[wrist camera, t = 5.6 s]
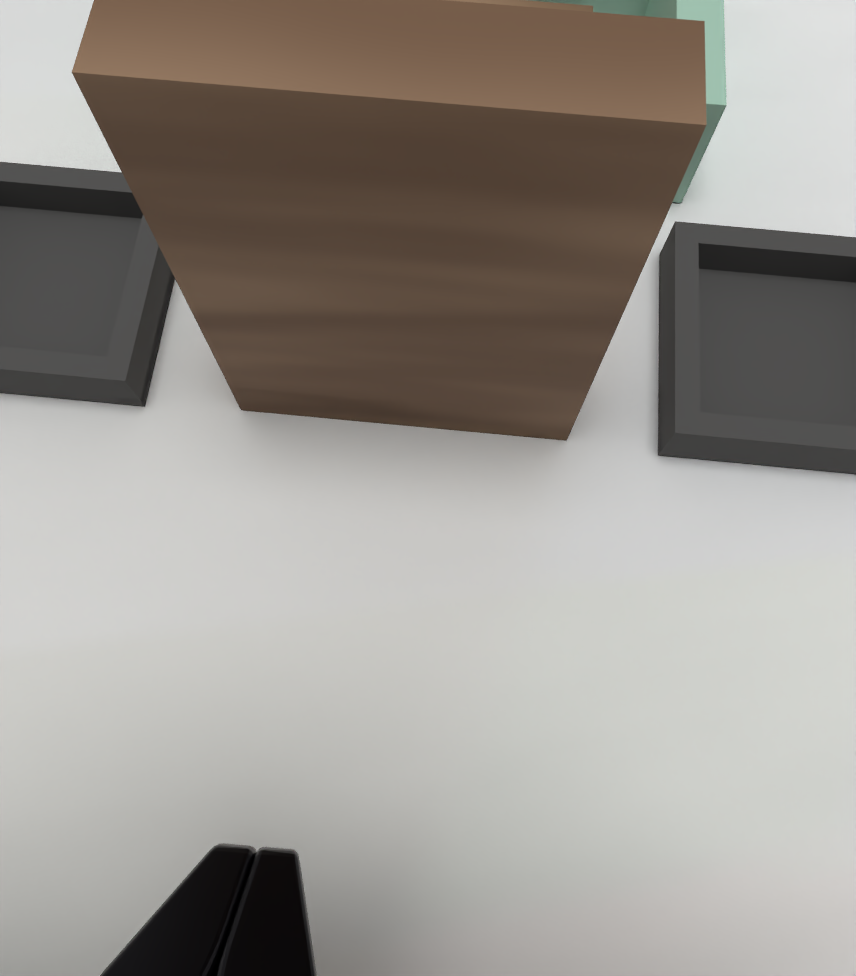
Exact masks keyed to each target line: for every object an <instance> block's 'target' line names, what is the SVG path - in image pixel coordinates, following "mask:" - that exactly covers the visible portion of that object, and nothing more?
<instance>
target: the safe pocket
mask: <svg viewBox="0 0 856 976" xmlns="http://www.w3.org/2000/svg"><path fill="white" fill-rule="evenodd" d="M528 1H540V2H553V3H565V4H578V5H590V6H593V12H598V13H611V14H623V15H636V16H648V17H661V18H673V19H686V20H698V21H705V69H706V122H707V125H706V127H705V130H704V132H703V134H702V136H701V139H700V141H699V143H698V145H697V148H696V150H695V152H694V154H693V157H692V159H691V161H690V163H689V166H688V168H687V170H686V172H685V175H684V177H683V179H682V181H681V184H680V186H679V188H678V190H677V193H676V195H675V197H674V199H673V202H677V203H681V202H682V200H683V198H684V196H685V194H686V192H687V189H688V187H689V185H690V183H691V181H692V179H693V176H694V174H695V172H696V170H697V168H698V166H699V163H700V161H701V159H702V157H703V155H704V153H705V150H706V148H707V146H708V144H709V142H710V140H711V137H712V135H713V133H714V131H715V129H716V127H717V124H718V122H719V120H720V118H721V116H722V114H723V111H724V109H725V107H726V72H725V34H724V0H528Z"/></svg>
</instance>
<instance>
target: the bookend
mask: <svg viewBox="0 0 856 976" xmlns="http://www.w3.org/2000/svg"><path fill="white" fill-rule="evenodd" d="M72 74H73V76H74V78H75V80H76V82H77V84H78V86H79V88H80V90H81V92H82V94H83V96H84V98H85V100H86V102H87V104H88V106H89V108H90V110H91V112H92V114H93V115H94V117H95V119H96V121H97V123H98V125H99V127H100V129H101V131H102V133H103V135H104V137H105V139H106V141H107V143H108V145H109V147H110V149H111V151H112V153H113V155H114V157H115V159H116V161H117V163H118V165H119V167H120V169H121V171H122V173H123V175H124V177H125V179H126V181H127V183H128V185H129V187H130V189H131V191H132V193H133V195H134V197H135V199H136V201H137V203H138V205H139V207H140V209H141V211H142V213H143V215H144V217H145V219H146V221H147V223H148V225H149V227H150V229H151V231H152V233H153V235H154V237H155V239H156V241H157V243H158V245H159V247H160V249H161V251H162V253H163V255H164V257H165V259H166V261H167V263H168V265H169V267H170V269H171V271H172V273H173V275H174V277H175V279H176V281H177V283H178V285H179V287H180V289H181V291H182V293H183V295H184V297H185V299H186V301H187V303H188V305H189V307H190V309H191V311H192V313H193V315H194V317H195V319H196V321H197V323H198V325H199V327H200V329H201V331H202V333H203V335H204V337H205V339H206V341H207V343H208V345H209V347H210V349H211V351H212V353H213V355H214V357H215V359H216V361H217V363H218V365H219V367H220V369H221V371H222V373H223V375H224V377H225V379H226V381H227V383H228V385H229V387H230V389H231V391H232V393H233V395H234V397H235V399H236V401H237V403H238V405H239V407H240V409H241V410H244V411H255V412H265V413H276V414H287V415H298V416H308V417H319V418H330V419H341V420H351V421H362V422H373V423H384V424H394V425H405V426H416V427H427V428H437V429H448V430H459V431H470V432H480V433H491V434H502V435H513V436H523V437H534V438H545V439H556V440H567V438H568V436H569V434H570V431H571V429H572V427H573V425H574V422H575V420H576V418H577V416H578V413H579V411H580V409H581V407H582V404H583V402H584V400H585V398H586V395H587V393H588V391H589V389H590V386H591V384H592V382H593V380H594V377H595V375H596V373H597V371H598V368H599V366H600V364H601V362H602V359H603V357H604V355H605V353H606V350H607V348H608V346H609V344H610V341H611V339H612V337H613V335H614V332H615V330H616V328H617V326H618V323H619V321H620V319H621V317H622V314H623V312H624V310H625V308H626V305H627V303H628V301H629V299H630V296H631V294H632V292H633V290H634V287H635V285H636V283H637V281H638V278H639V276H640V274H641V272H642V269H643V267H644V265H645V263H646V260H647V258H648V256H649V254H650V251H651V249H652V247H653V245H654V242H655V240H656V238H657V236H658V233H659V231H660V229H661V227H662V224H663V222H664V220H665V218H666V215H667V213H668V211H669V209H670V206H671V204H672V202H673V199H674V197H675V195H676V193H677V190H678V188H679V186H680V184H681V181H682V179H683V177H684V175H685V172H686V170H687V168H688V166H689V163H690V161H691V159H692V157H693V154H694V152H695V150H696V148H697V145H698V143H699V141H700V139H701V136H702V134H703V132H704V130H705V127H706V125H707V122H706V69H705V21H698V20H686V19H673V18H661V17H648V16H636V15H623V14H611V13H598V12H593V6H590V5H578V4H565V3H553V2H540V1H528V0H94V2H93V5H92V9H91V12H90V15H89V18H88V22H87V25H86V28H85V31H84V34H83V38H82V41H81V44H80V47H79V51H78V54H77V57H76V60H75V64H74V67H73V70H72Z"/></svg>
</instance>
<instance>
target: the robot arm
mask: <svg viewBox="0 0 856 976" xmlns="http://www.w3.org/2000/svg"><path fill="white" fill-rule="evenodd" d="M100 976H317V974H316V968H315V961H314V954H313V948H312V941H311V934H310V928H309V921H308V914H307V908H306V901H305V894H304V887H303V881H302V874H301V867H300V861H299V856H298V853H297V852H296V851H295V850H293V849H283V848H271V847H263V848H260V849H259V850H258V851H257V852H256V849H255V848H254V847H251V846H246V845H234V844H218V845H216V846H214V847H213V848H212V849H211V850H210V851H209V852H208V853H207V854H206V855H205V857H204V858H203V859H202V860H201V861H200V862H199V863H198V865H197V866H196V867H195V868H194V869H193V870H192V871H191V873H190V874H189V875H188V876H187V877H186V878H185V879H184V880H183V882H182V883H181V884H180V885H179V886H178V887H177V888H176V890H175V891H174V892H173V893H172V894H171V895H170V896H169V898H168V899H167V900H166V901H165V902H164V903H163V904H162V906H161V907H160V908H159V909H158V910H157V911H156V912H155V914H154V915H153V916H152V917H151V918H150V919H149V920H148V921H147V923H146V924H145V925H144V926H143V927H142V928H141V929H140V931H139V932H138V933H137V934H136V935H135V936H134V937H133V939H132V940H131V941H130V942H129V943H128V944H127V945H126V947H125V948H124V949H123V950H122V951H121V952H120V953H119V955H118V956H117V957H116V958H115V959H114V960H113V961H112V962H111V964H110V965H109V966H108V967H107V968H106V969H105V970H104V972H103V973H102V974H101V975H100Z"/></svg>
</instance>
